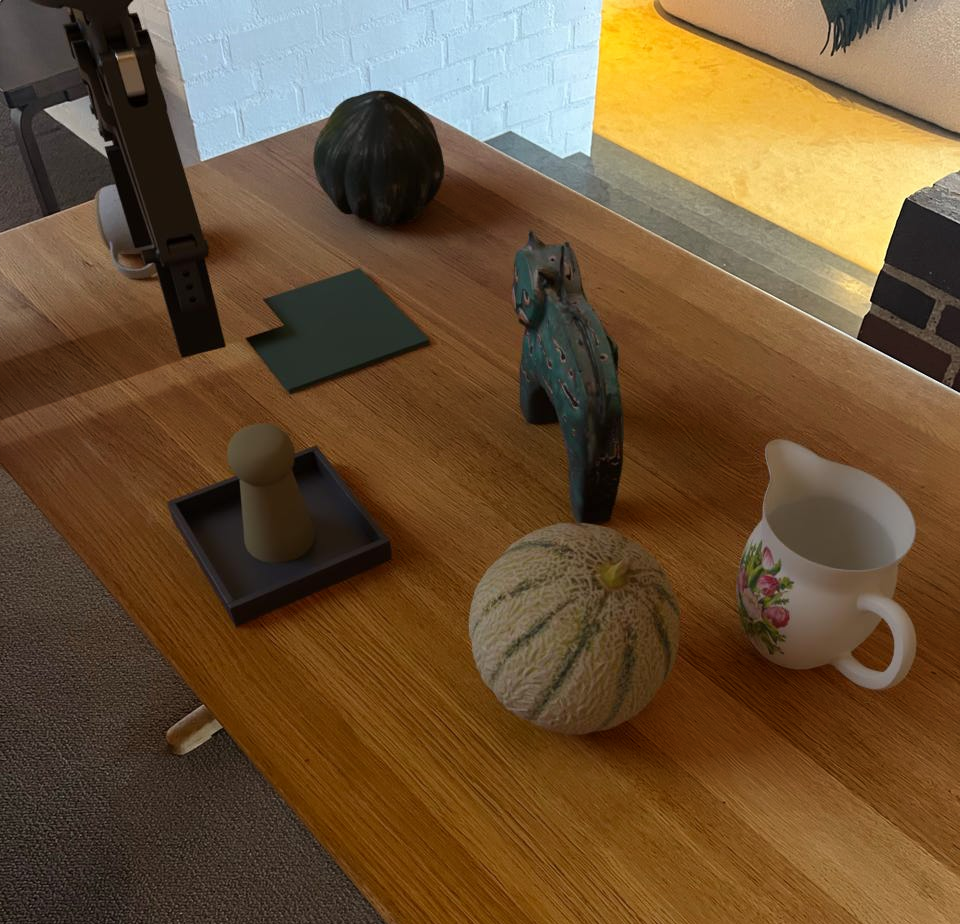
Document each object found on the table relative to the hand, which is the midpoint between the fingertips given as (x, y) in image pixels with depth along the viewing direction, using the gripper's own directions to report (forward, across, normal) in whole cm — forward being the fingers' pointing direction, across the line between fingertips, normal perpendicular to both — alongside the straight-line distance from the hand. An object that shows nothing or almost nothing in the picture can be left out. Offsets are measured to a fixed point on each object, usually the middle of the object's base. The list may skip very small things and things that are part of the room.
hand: (176, 292), depth 64 cm
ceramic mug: (+25, +52, -3) cm, 58 cm away
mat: (+25, +30, -17) cm, 42 cm away
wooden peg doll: (+25, +2, -3) cm, 25 cm away
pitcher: (+26, -26, -37) cm, 52 cm away
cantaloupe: (+26, -23, -18) cm, 39 cm away
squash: (+25, +50, -31) cm, 65 cm away
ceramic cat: (+26, +1, -30) cm, 40 cm away
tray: (+25, +2, -3) cm, 26 cm away
